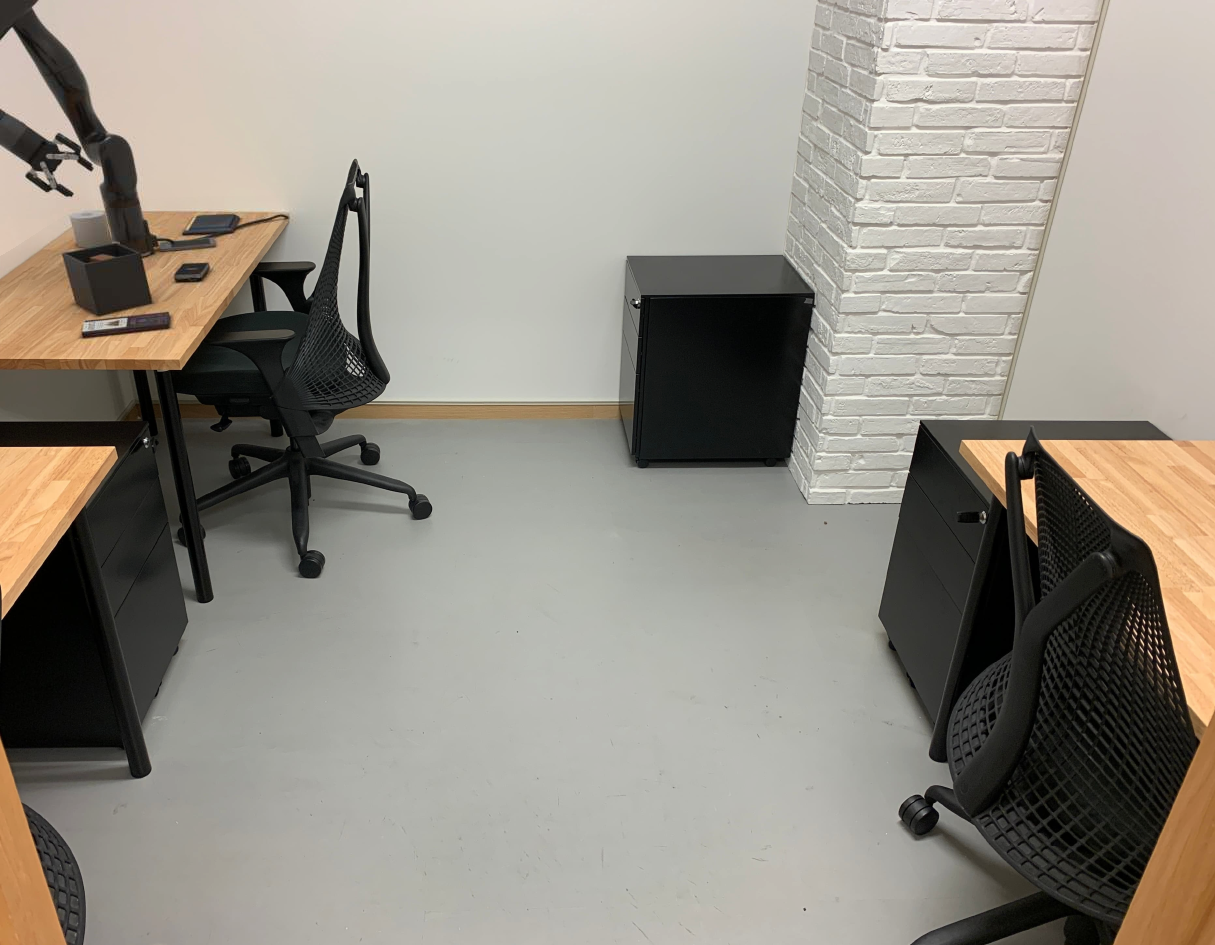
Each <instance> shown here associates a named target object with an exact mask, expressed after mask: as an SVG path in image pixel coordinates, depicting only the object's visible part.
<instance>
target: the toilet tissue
mask: <svg viewBox="0 0 1215 945" xmlns="http://www.w3.org/2000/svg"><path fill="white" fill-rule="evenodd" d="M69 219H70V223H71V227H72V231H73V234H74V238H75V242H76V245H77V247H78V248H83V249H87V248H92V247H97V246H102V245H108V244H112V241H113V240H112V236H111V232H110V228H109V224H108V220H107V216H106V212H104V211H103V210H84V211H79V212H74V213H71V214H69Z"/></svg>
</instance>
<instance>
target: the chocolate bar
mask: <svg viewBox="0 0 1215 945" xmlns="http://www.w3.org/2000/svg"><path fill="white" fill-rule="evenodd" d="M162 329H163V330H164V329H170V311H162V312H153V313H144V314H143V313H142V314H134V315H126V316H125V315H124V316H116V317H115V316H114V317H105V318H97V319H89V320H88V319H87V320H84V322H83V327H82V330H81V336H82V338H92V337H99V336H100V337H101V336H108V335H109V336H110V335H117V334H118V335H119V334H127V333H136V332H144V331H145V332H146V331H152V330H153V331H154V330H162Z"/></svg>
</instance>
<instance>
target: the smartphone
mask: <svg viewBox="0 0 1215 945" xmlns="http://www.w3.org/2000/svg"><path fill="white" fill-rule="evenodd" d="M192 239H194V240H192ZM192 239H191V238H190V239H180V240H179V239H178V240H176V241H177V242H175V243H171V242H168V241H159V249H160V252H172V251H181V250H192V249H193V250H194V249H203V248H213V247H216V243H215V237H212V238H201V239H196V238H192Z"/></svg>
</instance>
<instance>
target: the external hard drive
mask: <svg viewBox="0 0 1215 945" xmlns="http://www.w3.org/2000/svg"><path fill="white" fill-rule="evenodd" d="M210 269H211V266H210V263H209V262H183V263H182V264H181V265H180V266H179V267H178V268H177V270H176V271H175V272H174V274H173V279H174V281H175V282H176V283H177V282H182V283H183V282H200V281H202V280H203V279H204V277H206V275H207V274H208V272H209V271H210Z"/></svg>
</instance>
